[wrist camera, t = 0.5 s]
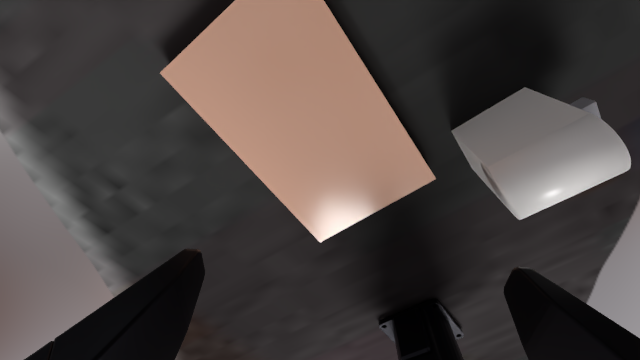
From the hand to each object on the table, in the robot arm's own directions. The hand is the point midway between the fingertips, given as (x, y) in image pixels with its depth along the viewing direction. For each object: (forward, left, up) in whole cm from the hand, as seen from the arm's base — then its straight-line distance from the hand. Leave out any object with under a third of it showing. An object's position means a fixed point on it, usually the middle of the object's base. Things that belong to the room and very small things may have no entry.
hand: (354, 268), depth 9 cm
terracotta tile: (+1, +2, -14) cm, 14 cm away
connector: (-7, -8, -14) cm, 17 cm away
